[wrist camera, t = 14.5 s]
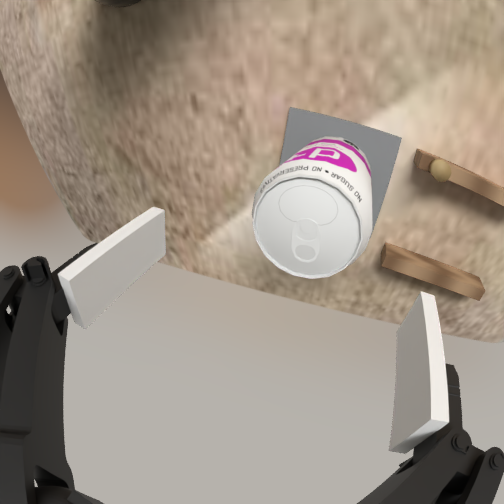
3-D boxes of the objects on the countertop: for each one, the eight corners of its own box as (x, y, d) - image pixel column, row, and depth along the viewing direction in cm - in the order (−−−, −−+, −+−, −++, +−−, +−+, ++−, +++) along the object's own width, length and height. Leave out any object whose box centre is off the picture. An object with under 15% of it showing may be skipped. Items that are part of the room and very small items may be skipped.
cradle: (381, 253, 33) (381, 273, 29) (417, 146, 26) (425, 153, 22) (473, 286, 30) (482, 308, 26) (517, 193, 22) (534, 207, 19)
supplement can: (296, 132, 29) (240, 160, 17) (374, 140, 27) (381, 175, 15) (295, 203, 33) (245, 274, 21) (367, 213, 31) (361, 295, 19)
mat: (272, 206, 35) (271, 208, 35) (290, 107, 29) (289, 107, 28) (369, 237, 32) (369, 238, 32) (401, 137, 26) (401, 138, 26)
